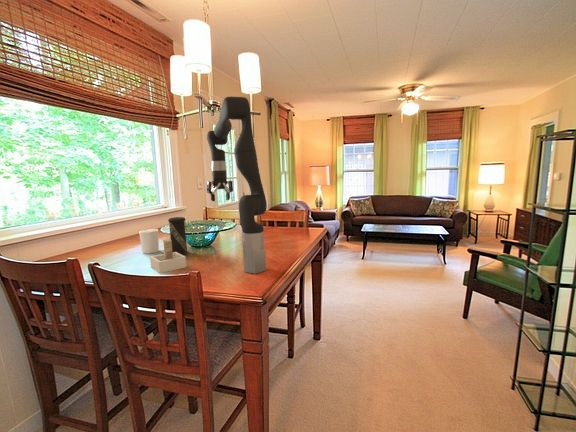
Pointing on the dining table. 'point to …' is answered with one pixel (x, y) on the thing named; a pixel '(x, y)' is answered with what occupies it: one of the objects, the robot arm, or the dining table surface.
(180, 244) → the container
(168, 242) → the tan column with base
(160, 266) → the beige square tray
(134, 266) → the dining table surface
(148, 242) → the candle holder
